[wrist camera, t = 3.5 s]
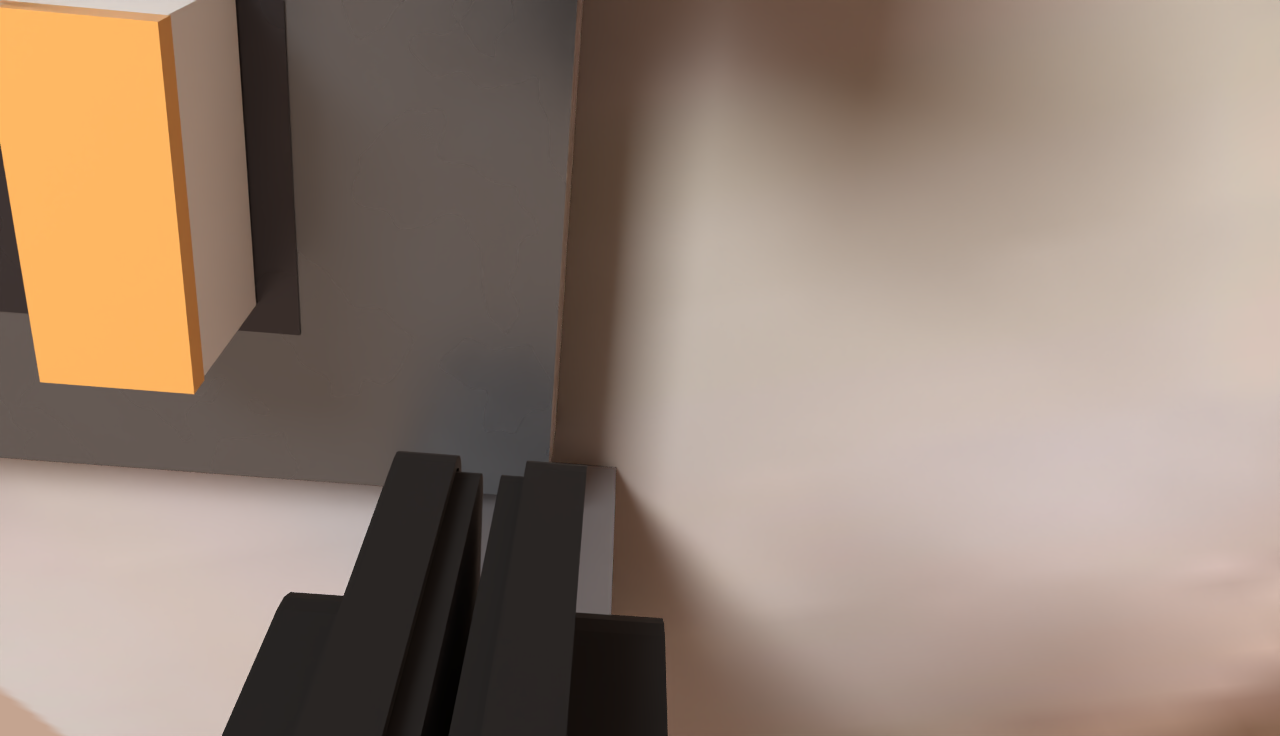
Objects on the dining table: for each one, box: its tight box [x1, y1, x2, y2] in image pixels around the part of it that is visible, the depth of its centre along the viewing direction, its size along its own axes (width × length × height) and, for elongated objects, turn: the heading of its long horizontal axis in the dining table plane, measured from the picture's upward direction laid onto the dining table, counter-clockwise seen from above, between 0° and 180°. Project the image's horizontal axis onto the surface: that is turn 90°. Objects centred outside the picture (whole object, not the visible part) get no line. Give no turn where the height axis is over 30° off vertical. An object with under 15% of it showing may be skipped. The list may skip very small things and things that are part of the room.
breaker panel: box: [0, 0, 583, 495], centre depth 22 cm, size 14×18×3 cm
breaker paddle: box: [0, 0, 256, 394], centre depth 19 cm, size 6×2×4 cm, turn 175°
